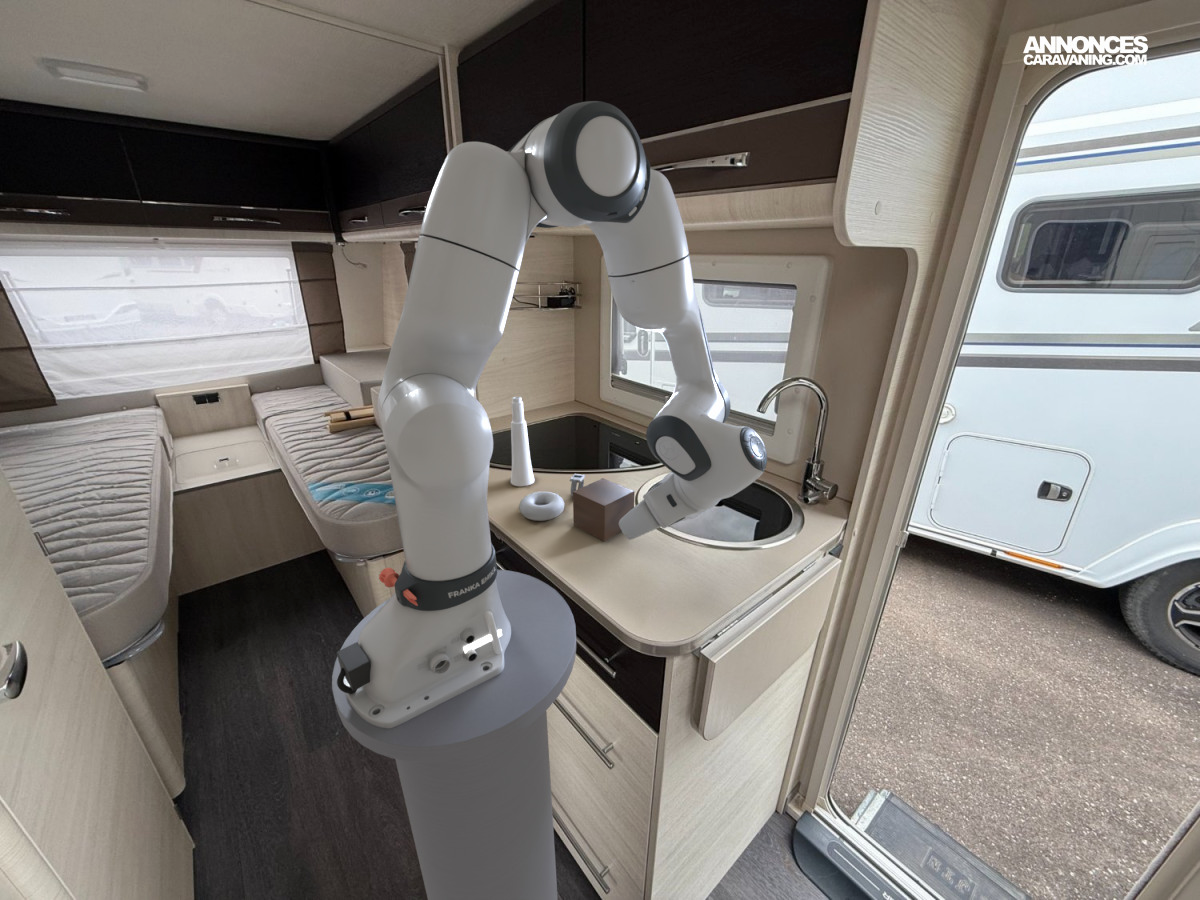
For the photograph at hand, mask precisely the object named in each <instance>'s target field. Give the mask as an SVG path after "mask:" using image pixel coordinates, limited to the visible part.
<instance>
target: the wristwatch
mask: <svg viewBox="0 0 1200 900" xmlns="http://www.w3.org/2000/svg"><path fill="white" fill-rule="evenodd" d="M570 477H571V478H570V479H569V483H570V482H571V484H570V496H571V497H572V498H573V491H575V490H578V489H580V488H582V487H584V486H585V477H586V475H585V474H580V473H574V474H572V476H570Z"/></svg>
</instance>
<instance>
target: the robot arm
mask: <svg viewBox="0 0 1200 900" xmlns="http://www.w3.org/2000/svg"><path fill="white" fill-rule="evenodd" d="M429 195H430V196H429V199H428V202H427V205H426V208H425V211H424V215H423V219H422V222H421V226H420V229H419V230H420V231H419V234H418V235H419V236H418V239H417V243H416V247H415V248H416V249H415V251H414V252H415V253H414V256H413V262H412V267H411V271H410V276H409V280H408V285H407V290H406V294H405V298H404V303H403V306H402V307H403V308H402V310H401V315H400V319H399V322H398V324H397V328H396V331H395V334H394V338H393V341H392V344H391V347H390V352H389V355H388V359H387V362H386V365H385V369H384V373H383V377H382V382H381V384H380V389H379V393H378V397H377V413H378V417H379V422H380V427H381V431H382V436H383V441H384V445H385V450H386V455H387V461H388V467H389V472H390V479H391V484H392V491H393V497H394V502H395V510H396V517H397V521H398V527H399V533H400V538H401V543H402V544H401V545H402V549H403V555H404V562H403V564H402V568H401V572H400V574H399V573H397V572H396V570H394V569H393V568H392V567H385V568H384V569H382V570H381V571H380V573H379V574H378V576H379V577H378V580H379V581H380V582H381V583H382V584H383V585H384V586H385V587H386V588H394V593H393V594H392V595H391V596H390V597H389V598H390V599H389V598H388V599H389V600H388V599H387V600H388V601H387V602H386V604H385V605H384V606H383V607H382V608H381V609H380V610H379V611H378V613H377V614H376V615H375V616H374V617H373V618H372V619H371V620H370V621H369V622H368V623H367V624H366V626H365V627H364V628H363V629H362V631H361V633H360V636H359V640H358V643H357V642H356V643H354V644H352V645H350V646H348V647H346V648H344V649H342V650H340V649H339V650H338V651H336V658H337V657H338V661H339V664H340V668H341V671H340V674H339V676H338V679H337V686H338V687H339V689H340V690H341V691H343V692H345V695H346V697H347V699H348V701H349V703H350V704H351V706H352V707H353V708H354V710H355V711H356V712H357V713H358V714H359V715H360V717H362V718H363V719H364V720H365V721H367V722H368V723H370V724H372V725H375V726H377V727H381V728H386V729H390V728H393V727H396V726H398V725H400V724H402V723H404V722H406V721H408V720H410V719H412V718H414V717H416V716H418V715H420V714H422V713H424V712H426V711H428V710H430V709H432V708H434V707H436V706H438V705H440V704H441V703H443V702H445V701H447V700H449V699H451V698H453V697H455V696H457V695H459V694H461V693H463V692H465V691H467V690H469V689H471V688H473V687H475V686H477V685H479V684H481V683H483V682H485V681H487V680H489V679H491V678H493V677H495V676H497V675H498V674H500V673H501V672H502V671H503V669H504V663H505V662H504V653H505V650H506V648H507V646H508V643H509V641H510V638H511V625H510V622H509V620H508V618H507V616H506V614H505V612H504V609H503V606H502V603H501V600H500V596H499V592H498V588H497V583H496V576H497V569H498V563H497V557H496V556H497V555H496V549H495V546H494V545H493V543H492V540H491V527H490V518H489V509H488V507H489V506H488V490H489V489H488V487H489V477H490V461H491V459H492V455H493V453H494V452H493V451H494V436H493V430H492V427H491V423H490V419H489V416H488V414H487V411H486V409H485V408H484V407H483V405H482V404H481V402H480V401H479V400H478V399H477V398H476V397H475V394H476V389H477V385H478V383H479V380H480V378H481V376H482V373H483V371H484V369H485V367H486V364H487V362H488V360H489V358H490V356H491V354H492V353H493V351H494V350H495V348H496V347H497V346H498V344H499V343H500V342H501V339H502V337H503V334H504V331H505V326H506V322H507V319H508V316H509V311H510V308H511V304H512V301H513V296H514V294H515V289H516V285H517V282H518V278H519V273H520V270H521V266H522V261H523V256H524V252H525V246H526V244H527V243H528V241H529V239H530V236H531V234H532V232H533V231H534V229H535V228H542V229H551V228H557V227H564V228H575V227H579V226H584V225H585V226H586V227H587V228H589V230H591V232H592V233H593V234H594V236H595V237H596V240H597V241H598V244H599V245H600V248H601V250H602V253H603V259H604V264H605V268H606V274H607V278H608V283H609V288H610V290H611V295H612V298H613V301H614V303H615V305H616V308H617V310H618V312H619V314H620V316H621V318H622V319H623V320H624V321H626V322H627V323H629V324H630V325H632V326H634V327H635V328H637V329H639V330H644V331H648V332H649V331H651V332H658V333H660V334H661V335H662V337H663V338H664V340H665V342H666V345H667V349H668V353H669V356H670V360H671V364H672V367H673V371H674V375H675V379H676V380H675V386H674V389H673V393H672V395H671V397H670V398H669V400H668V401H667V402H666V403H665V404H664V406H663V407H662V408H661V409H660V410H659V411H658V412H657V414H656V415H655V417H654V418H653V419H652V420H651V421H650V422H649V424H648V425H647V428H646V433H645V437H646V444H647V446H648V448H649V451H650V452H651V454H652V455H653V456H654V458H655V459H657V461H659V462H660V463H661V464H662V465H663V466H664V467H666V468H667V469H668V470H669V471H670V472H668V473H667V474H666V475H665V476H664V477H663V478H662V479H661V480H660V481H659V483H658V484H657V485H655V486H654V487H653V488H651V489H650V490H648V491H647V492H645V493H644V494H643V495H642V498H643V499H642V500H641V501H640V502H639V503H637V504H636V505H634V508H633V509H632V510H630V511H629V512H628V513H627V514H626V515H625V516H624V517H623V518H621V520H620V521H619V527H620V529H621V530H622V532H621V533H623V535H624V537H625V538H626V540H634V539H636V538H639V537H641V536H644V535H646V534H648V533H650V532H653V531H655V530H657V529H659V528H662V529H666V528H669V527H670V526H672V525H675V524H677V523H679V522H683V521H687V520H693V519H695V518H697V517H698V516H700V515H702V514H704V513H706V512H707V511H709V510H710V509H712V508H714V507H716V506H717V505H718V504H719V502H720V501H722V500H724V499H729V498H732V497H734V495H736V494H738V493H740V492H741V491H743V490H745V489H746V488H747V487H749V486H751V485H752V484H753V483H754V482H755V481H757V480H758V479H759V478H760V477H761V476H762V475H763V473H764V472H765V471H766V469H767V464H768V454H767V450H766V446H765V443H764V441H763V439H762V437H761V436H760V435H759V434H758V433H757V431H755V430H754V429H753V428H752V427H749V426H738V425H732V424H729V423H725V422H726V421H727V420H728V418H729V416H730V413H731V407H732V406H731V400H730V396H729V394H728V391H727V390H726V388H725V386H724V385H723V383H722V382H721V379H719V376H718V374H717V373H716V370H715V367H714V363H713V358H712V355H711V350H710V345H709V341H708V337H707V333H706V327H705V324H704V319H703V315H702V312H701V309H700V306H699V302H698V298H697V294H696V289H695V282H694V276H693V269H692V264H691V259H690V258H691V256H690V251H689V245H688V239H687V235H686V231H685V226H684V222H683V218H682V215H681V211H680V208H679V205H678V203H677V198H676V196H675V193H674V190H673V188H672V185H671V183H670V181H669V179H668V178H667V176H665V175H664V174H663V173H662V172H661V171H658V170H656V169H653V168H651V164H650V161H649V159H648V157H647V156H646V153H645V149H644V146H643V143H642V141H641V138H640V136H639V134H638V132H637V129H636V128H635V127H634V125H633V123H632V122H631V120H630V119H629V117H628V116H626V114H625V113H624V112H623V111H622V110H621V109H619V108H618V107H617V106H615V105H613V104H611V103H608V102H605V101H598V100H589V101H588V100H587V101H581V102H576V103H574V104H571V105H569V106H567V107H566V108H564V109H563V110H561V111H560V112H559V113H557V114H554V115H553V116H550V117H548V118H546V119H543V120H542V121H540V122H539V123H538V124H536V125H535V126H534V127H533V128H532V129H531V130H529V131H528V132H527V133H526V134H525V135H524V136H523V137H522V138H520V139H519V140H517V142H515V143H514V144H512V146H511V147H510V148H509V149H508V151H506V150H504V149H503V148H500V147H498V146H497V145H493V144H491V143H488V142H483V141H466V142H461V143H459V144H457V145H455V146H454V147H453V148H452V149H450V151H449V152H448V154H447V155H446V157H445V159H444V162H443V163H442V165H441V168H440V169H439V172H438V175H437V177H436V179H435V182H434V185H433V187H432V190H431V193H430V194H429ZM485 670H487V671H485ZM377 713H379V714H377ZM375 714H377V715H375Z"/></svg>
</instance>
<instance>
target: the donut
mask: <svg viewBox="0 0 1200 900" xmlns="http://www.w3.org/2000/svg"><path fill="white" fill-rule="evenodd" d="M518 508H519V512H520V514H521V515H522V516H523V517H524V518H526V519H528V520H531V521H535V522H544V521H549V520H553V519H555V518H557V517H558V516H560V515H561V514H562V513H563V512H564V509H565V501H564V499H563V497H562V496H561V495H559V494H558V493H555V492H552V491H543V490H541V491H535V492H532V493H528V494H527V495H525V496H524V497H523V498H522V499H521V500H520V502H519V506H518Z"/></svg>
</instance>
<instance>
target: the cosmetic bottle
mask: <svg viewBox="0 0 1200 900" xmlns="http://www.w3.org/2000/svg"><path fill="white" fill-rule="evenodd" d="M511 398H512V399H511V400H512V401H511V403H510V404H511V416H512V420H511V421H510V437H511V438H510V440H511V441H510V442H511V443H510V445H511V474H510V484H511V485H512V486H515V487H527V486H531V485H532V484H534V483H535V476H534V472H533V466H532V460H531V451H530V445H529V444H530V443H529V436H528V435H529V434H528V427H527V421H526V420H525V414H524V413H525V412H524V411H525V410H524V402H523V400H522V396H513V397H511Z"/></svg>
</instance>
